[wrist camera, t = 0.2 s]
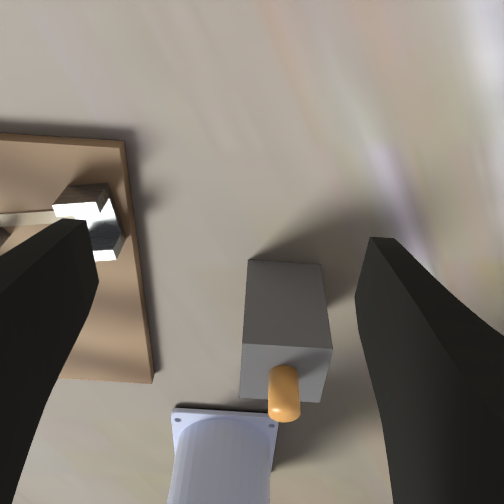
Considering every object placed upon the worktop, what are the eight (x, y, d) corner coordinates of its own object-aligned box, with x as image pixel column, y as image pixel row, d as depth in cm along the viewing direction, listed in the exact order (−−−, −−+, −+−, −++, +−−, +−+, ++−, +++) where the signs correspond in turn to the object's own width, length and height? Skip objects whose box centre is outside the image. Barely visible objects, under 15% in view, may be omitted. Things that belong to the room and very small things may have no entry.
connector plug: (310, 316, 26) (323, 441, 20) (244, 311, 26) (236, 435, 20) (320, 264, 24) (338, 387, 18) (248, 259, 24) (239, 381, 18)
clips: (129, 260, 23) (120, 282, 22) (-49, 249, 23) (-71, 270, 22) (118, 183, 20) (106, 202, 19) (-85, 170, 20) (-112, 188, 19)
